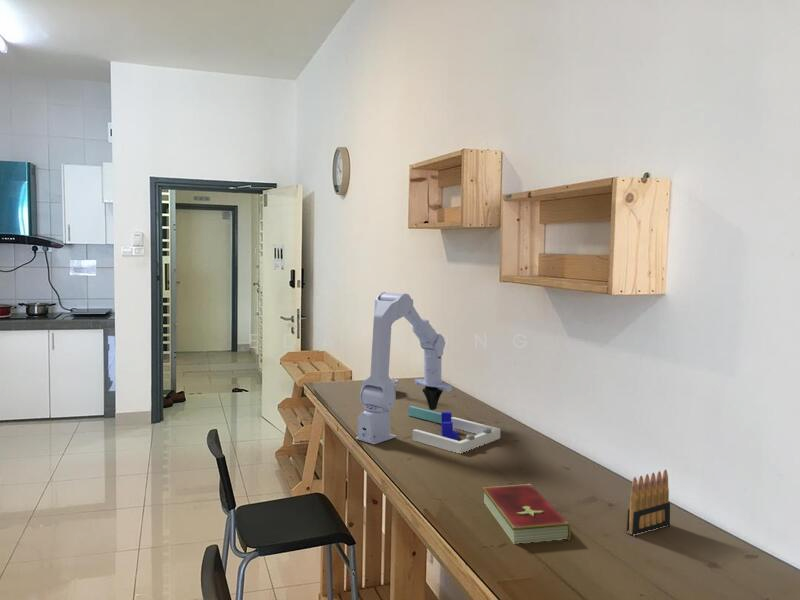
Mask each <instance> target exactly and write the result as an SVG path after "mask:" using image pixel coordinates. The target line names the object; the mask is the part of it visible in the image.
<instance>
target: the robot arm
mask: <svg viewBox="0 0 800 600" xmlns="http://www.w3.org/2000/svg"><path fill="white" fill-rule="evenodd" d="M373 311H374V313H373V328H372V343H371V358H370V359H371V360H370V361H371V363H370V375H369V376H368V377H366V378H367V379H366V378H364V379H365V380H363V381H362V386H361V389H360V391H359V392H360V393H359V401H360V403H361V404H362V406H363V409H365V410H364V411H363V412H361V413H360V414H359V415H358V418H357V436H356V437H355V439H356V440H358V441H361V442H365V443H367V444H368V443H369V444H370V445H371V444H372V445H376V444H379V443H380V444H381V443H384V442H385V441H389V440H392V439H395V438H397V435H396V434H392V433H391V416H390V415H391V410H392V409H393V407H394V405H395V403H396V399H397V398H396V397H397V396H396V394H395V391H394V383H393V382H392V381H391V378H389V375H390V374H389V372H390V357H391V344H392V343H391V341H392V339H391V338H392V325H393V324H394V323H395V322H396V321H398V320H401V319H402V318H403V317H404V319H406V320H407V321H408V323H410V324H411V327H412V332H413V333H414V335H415V336H416V337H417V338H418V340H419V345H420V347H421V349H423V352H424V353H423V354H424V355H423V356H424V357H423V359H424V360H423V361H424V362H423V363H424V364H423V371H424V372H423V374H424V375H423V378H415V379H414V385H415V386H421V387H424V388H422V392H423V395H424V396H425V398H426V399H425V400H426V402H427V405H428V410H430V411H435V410H437V407H438V403H439V400H440V398H441V395H442V394H443V393H444V391H445V392H447V393H449V392H452V387H453V386H452V384H448V383H445V382H443V379H442V356H443V355H444V349H445V345H446V341H445V337H444V336H443V335H442V334H441V333H438V332H437V331H436V330H435V328H433V326H432V325H431V324H430V321H429V320H428V319H425V318H421V316H420V314H419V313H418V312H417V310H416V308H415V307H414V299H412V298H411V296H410V294H408V293H394V292H393V293H392V292H385V291H383V292H380V293H379V294H378V295H377V296H376V297H375V299H374V310H373ZM377 386H378V387H377Z"/></svg>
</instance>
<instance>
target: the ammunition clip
mask: <svg viewBox="0 0 800 600" xmlns="http://www.w3.org/2000/svg"><path fill="white" fill-rule="evenodd" d="M669 497H670V490H669V475H668V471H667V469H664V471H663V473H661V470H659V471H658V472H657V474H656V475H655V472H652V473H651V475H650V477H649V474H648V473H646V474H645V477H644V478H643V476H642V475H640V476H639V477H638V480H637V477H636V476H634V477H633V479H632V482H631V491H630V497H629V508H628V509H627V520H626V532H627V531H628V530H629V532H631V533H632V534H637V533H641V532H645V531H648V530H653V529H656V528H660V527H663V526H667V525H670V526H671V502H670V501H669V500H670V499H669ZM667 527H668V526H667Z"/></svg>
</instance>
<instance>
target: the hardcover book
mask: <svg viewBox="0 0 800 600" xmlns="http://www.w3.org/2000/svg"><path fill="white" fill-rule="evenodd" d="M481 490H482V491H483V495H484V496H483V503H484V504H486V505H485V506H486V507H487V509H488V510H489V512H490V513H491V514H492V516H493V517H494V519H495V520H496V521H497V522H498V524H499V526H500V527H501V528H502V530H503V531H504V532H505V533H506V535H507V536H508V538H509V540H510V541H511V542H512V544H513V545H520V544H519V543H523V544H531V542H534V543H541V541H542V543H544V542H543V541H546V542H553V541H552V540H557V541H563V540H562V539H568V540H567V541H570V540H571V536H572V533H571V531H572V530H571V524H570V523H569V522H568V521H567V520H566V519H565V518H564V517H563V516H562V514H560V513H559V512H558V511H557V509H556V508H554V506H552V504H551V503H550V502H549V501H547V499H546V498H545V497H544V496H543V495H542V494H541V493H540V492H539V491H538V490H537V489H536V488H535V486H533V485H532V484H531V483H526V484H525V483H524V484H511V485H497V486H485V487H484V486H482V487H481Z"/></svg>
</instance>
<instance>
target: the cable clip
mask: <svg viewBox="0 0 800 600" xmlns="http://www.w3.org/2000/svg"><path fill="white" fill-rule="evenodd" d="M440 413H441V425H440V426H441V429H440V430H442V431H441V436H443V437H446V438H450V439H453V440H457V441H459V440H458V439H459V436H458V435H459V433H458V430H454V428H453V422H451V418H452V412H451V411H441V412H440Z"/></svg>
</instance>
